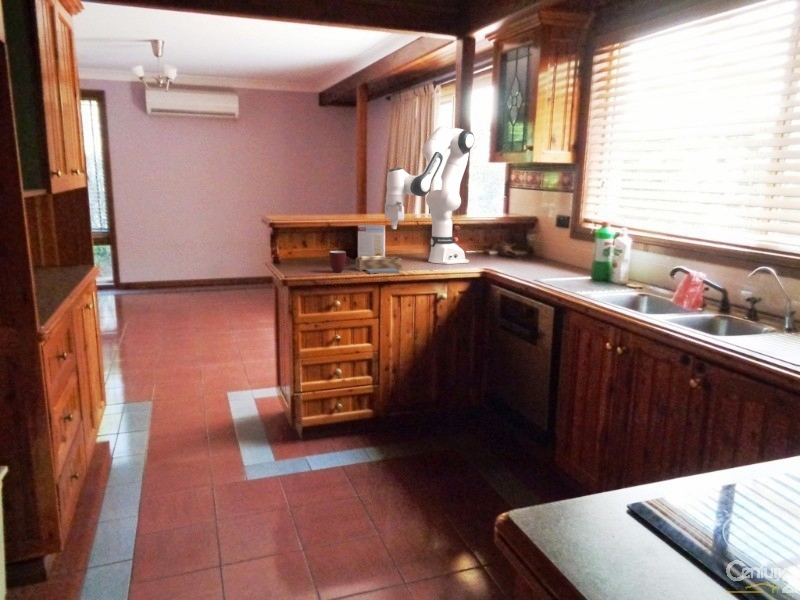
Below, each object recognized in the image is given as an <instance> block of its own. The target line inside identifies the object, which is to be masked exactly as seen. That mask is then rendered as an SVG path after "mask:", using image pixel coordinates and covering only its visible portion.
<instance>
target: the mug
mask: <svg viewBox="0 0 800 600" xmlns="http://www.w3.org/2000/svg"><path fill="white" fill-rule="evenodd" d="M328 257H329V262H330V267H331V270H332V272H333V273H335V274H341V273H343V271H344V269H345V267H348V266H350V264H351V259H350V257H349V256H347V252H346V251H345V250H330V251H329V256H328ZM346 260H347V264H346Z"/></svg>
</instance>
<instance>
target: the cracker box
mask: <svg viewBox="0 0 800 600" xmlns="http://www.w3.org/2000/svg"><path fill="white" fill-rule="evenodd" d="M360 256H382V257H386V224H358V225H357V258H360Z"/></svg>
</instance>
